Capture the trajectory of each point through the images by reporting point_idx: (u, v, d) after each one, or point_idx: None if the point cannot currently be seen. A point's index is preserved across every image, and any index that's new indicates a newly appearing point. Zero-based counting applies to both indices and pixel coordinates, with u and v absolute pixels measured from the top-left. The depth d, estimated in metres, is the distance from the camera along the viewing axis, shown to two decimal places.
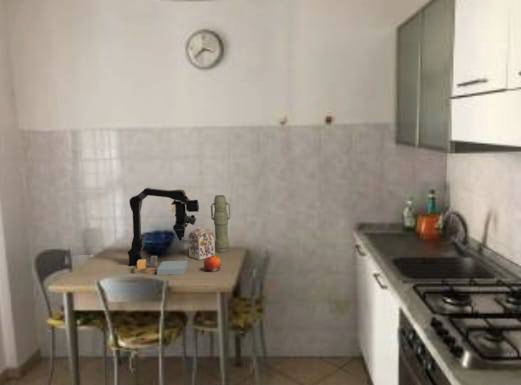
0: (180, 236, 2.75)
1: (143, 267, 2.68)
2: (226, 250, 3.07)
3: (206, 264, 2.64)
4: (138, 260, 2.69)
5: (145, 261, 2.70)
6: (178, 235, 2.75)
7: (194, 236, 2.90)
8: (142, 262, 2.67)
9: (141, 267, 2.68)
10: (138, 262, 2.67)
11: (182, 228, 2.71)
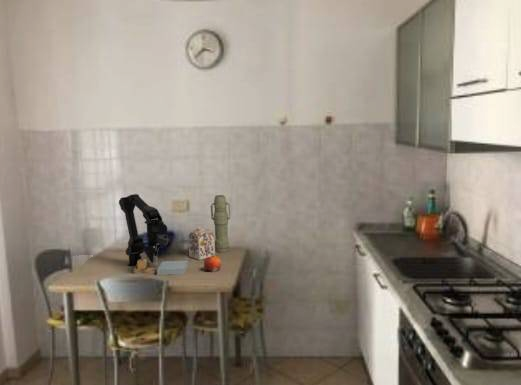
0: (152, 258, 2.63)
1: (143, 267, 2.68)
2: (226, 250, 3.07)
3: (206, 264, 2.64)
4: (138, 260, 2.69)
5: (145, 261, 2.70)
6: (149, 257, 2.63)
7: (194, 236, 2.90)
8: (142, 262, 2.67)
9: (141, 267, 2.68)
10: (138, 262, 2.67)
11: (153, 250, 2.59)
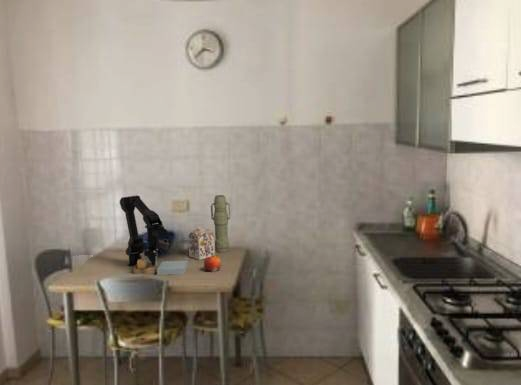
0: (153, 261, 2.66)
1: (143, 267, 2.68)
2: (226, 250, 3.07)
3: (206, 264, 2.64)
4: (138, 260, 2.69)
5: (145, 261, 2.70)
6: (151, 260, 2.66)
7: (194, 236, 2.90)
8: (142, 262, 2.67)
9: (141, 267, 2.68)
10: (138, 262, 2.67)
11: (153, 254, 2.59)
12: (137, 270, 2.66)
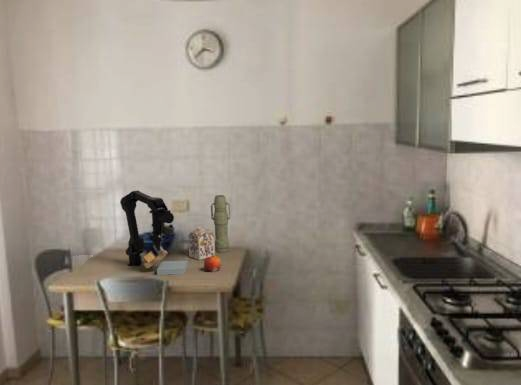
0: (158, 246, 2.65)
1: (152, 258, 2.67)
2: (226, 250, 3.07)
3: (206, 264, 2.64)
4: (145, 255, 2.69)
5: (151, 252, 2.69)
6: (156, 245, 2.65)
7: (194, 236, 2.90)
8: (148, 254, 2.67)
9: (150, 259, 2.67)
10: (145, 256, 2.67)
11: (158, 239, 2.58)
12: (148, 264, 2.65)
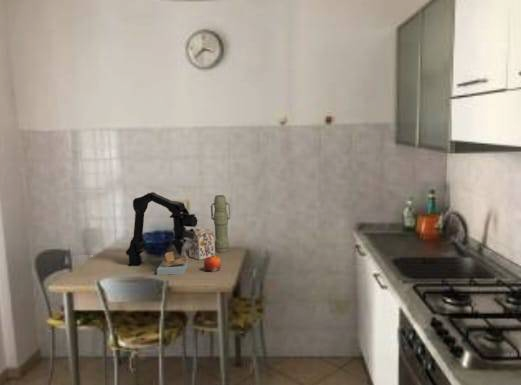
0: (180, 250, 2.66)
1: (172, 259, 2.67)
2: (226, 250, 3.07)
3: (206, 264, 2.64)
4: (166, 253, 2.69)
5: (173, 253, 2.69)
6: (177, 249, 2.65)
7: (194, 236, 2.90)
8: (170, 254, 2.67)
9: (170, 259, 2.67)
10: (166, 255, 2.67)
11: (181, 243, 2.58)
12: (167, 263, 2.65)
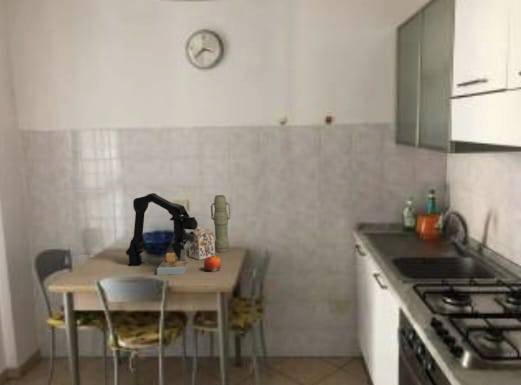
0: (179, 254, 2.63)
1: (172, 260, 2.67)
2: (226, 250, 3.07)
3: (206, 264, 2.64)
4: (167, 253, 2.69)
5: (174, 254, 2.69)
6: (177, 253, 2.63)
7: None
8: (171, 255, 2.67)
9: (170, 260, 2.67)
10: (167, 255, 2.67)
11: (181, 246, 2.59)
12: (167, 264, 2.65)
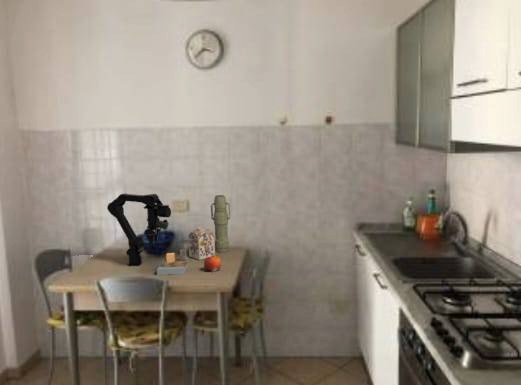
0: (152, 241, 2.72)
1: (172, 260, 2.67)
2: (226, 250, 3.07)
3: (206, 264, 2.64)
4: (167, 253, 2.69)
5: (174, 254, 2.69)
6: (150, 240, 2.72)
7: (194, 236, 2.90)
8: (171, 255, 2.67)
9: (170, 260, 2.67)
10: (167, 255, 2.67)
11: (153, 233, 2.68)
12: (167, 264, 2.65)
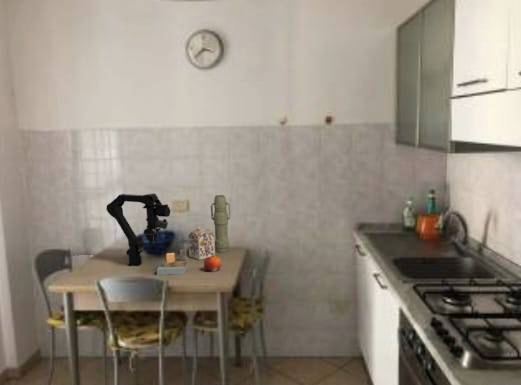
0: (151, 241, 2.72)
1: (172, 260, 2.67)
2: (226, 250, 3.07)
3: (206, 264, 2.64)
4: (167, 253, 2.69)
5: (174, 254, 2.69)
6: (149, 240, 2.72)
7: (194, 236, 2.90)
8: (171, 255, 2.67)
9: (170, 260, 2.67)
10: (167, 255, 2.67)
11: (153, 233, 2.68)
12: (167, 264, 2.65)
